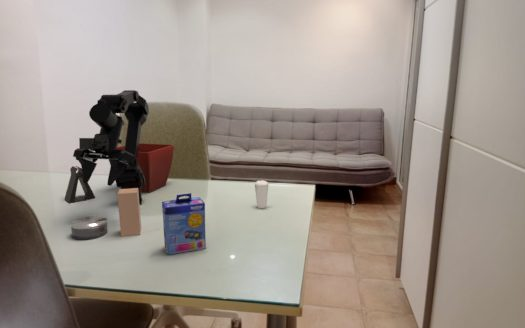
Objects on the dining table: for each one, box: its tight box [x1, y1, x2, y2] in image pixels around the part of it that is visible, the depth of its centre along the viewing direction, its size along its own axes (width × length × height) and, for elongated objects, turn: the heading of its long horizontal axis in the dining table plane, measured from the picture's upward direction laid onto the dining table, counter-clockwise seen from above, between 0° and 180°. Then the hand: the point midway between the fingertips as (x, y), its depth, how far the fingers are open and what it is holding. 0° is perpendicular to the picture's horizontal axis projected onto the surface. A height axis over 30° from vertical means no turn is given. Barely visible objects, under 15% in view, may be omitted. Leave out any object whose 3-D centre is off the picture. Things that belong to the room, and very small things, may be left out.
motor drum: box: [70, 215, 109, 241], centre depth 104 cm, size 9×9×4 cm
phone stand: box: [64, 165, 96, 204], centre depth 137 cm, size 9×6×12 cm, turn 131°
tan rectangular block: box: [116, 188, 142, 237], centre depth 104 cm, size 5×5×12 cm
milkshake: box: [254, 179, 271, 209], centre depth 126 cm, size 4×5×10 cm
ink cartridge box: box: [161, 192, 207, 256], centre depth 93 cm, size 10×6×14 cm, turn 114°
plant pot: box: [116, 142, 175, 193], centre depth 152 cm, size 19×19×17 cm
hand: (96, 184), depth 110 cm, fingers open, 9 cm apart
